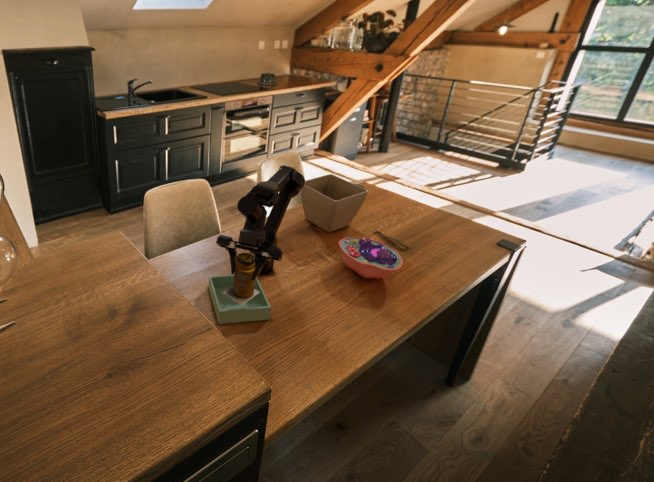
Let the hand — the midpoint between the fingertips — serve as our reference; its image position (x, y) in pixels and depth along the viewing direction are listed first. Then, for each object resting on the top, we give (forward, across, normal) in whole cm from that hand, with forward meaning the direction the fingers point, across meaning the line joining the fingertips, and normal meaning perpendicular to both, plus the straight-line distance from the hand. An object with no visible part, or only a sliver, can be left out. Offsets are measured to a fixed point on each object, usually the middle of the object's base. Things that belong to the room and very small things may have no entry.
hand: (242, 277), depth 109 cm
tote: (+7, -2, +12) cm, 14 cm away
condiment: (+4, 0, +6) cm, 7 cm away
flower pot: (-36, +21, +56) cm, 70 cm away
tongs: (-32, +45, +52) cm, 76 cm away
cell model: (-15, +35, +35) cm, 52 cm away
